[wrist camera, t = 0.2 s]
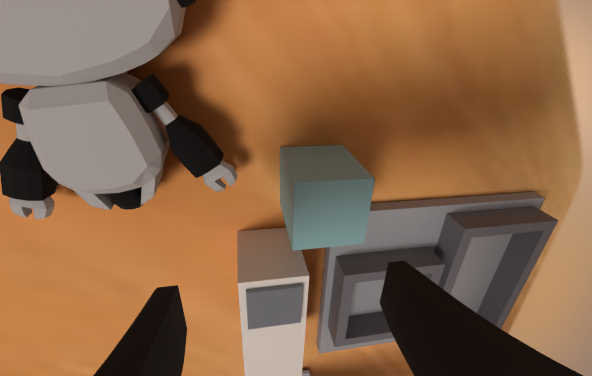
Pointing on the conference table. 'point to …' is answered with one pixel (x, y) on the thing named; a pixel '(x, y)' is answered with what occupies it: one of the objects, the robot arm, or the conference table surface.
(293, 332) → the beige rectangular block
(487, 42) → the conference table surface
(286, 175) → the teal block
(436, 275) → the jig
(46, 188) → the robot toy
